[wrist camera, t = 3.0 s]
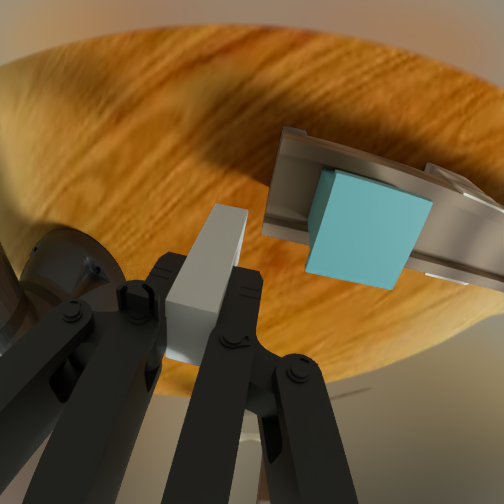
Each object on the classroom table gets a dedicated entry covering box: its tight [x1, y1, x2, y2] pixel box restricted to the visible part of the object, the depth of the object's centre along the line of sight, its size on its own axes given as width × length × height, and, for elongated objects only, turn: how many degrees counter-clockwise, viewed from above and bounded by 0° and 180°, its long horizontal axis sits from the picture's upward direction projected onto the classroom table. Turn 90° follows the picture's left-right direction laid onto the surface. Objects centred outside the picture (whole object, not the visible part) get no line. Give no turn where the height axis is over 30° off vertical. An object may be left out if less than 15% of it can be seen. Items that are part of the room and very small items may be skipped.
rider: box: [305, 168, 433, 290], centre depth 19 cm, size 6×6×5 cm
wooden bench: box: [261, 125, 504, 292], centre depth 24 cm, size 32×7×8 cm, turn 79°
